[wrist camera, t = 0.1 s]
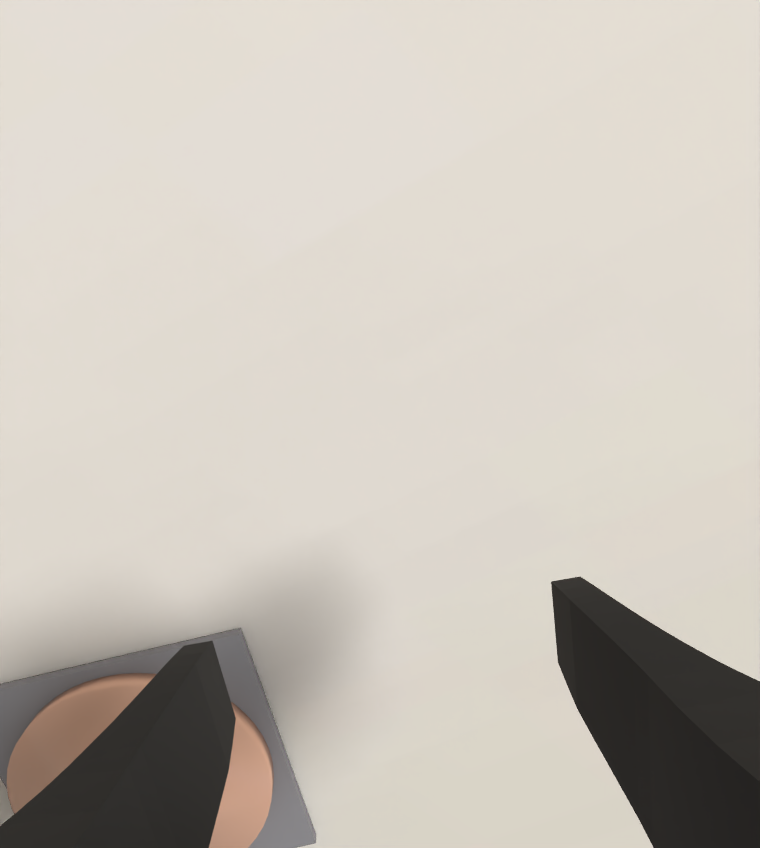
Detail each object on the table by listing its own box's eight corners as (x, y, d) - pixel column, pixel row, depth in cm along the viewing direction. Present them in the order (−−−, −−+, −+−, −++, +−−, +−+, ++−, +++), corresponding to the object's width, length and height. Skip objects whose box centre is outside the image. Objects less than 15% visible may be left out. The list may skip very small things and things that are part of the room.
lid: (302, 837, 26) (291, 963, 21) (76, 888, 26) (16, 1024, 21) (230, 646, 22) (199, 745, 18) (-27, 706, 23) (-123, 819, 18)
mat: (316, 834, 26) (315, 843, 26) (74, 889, 26) (70, 899, 26) (240, 627, 23) (238, 634, 22) (-38, 692, 23) (-44, 700, 22)
